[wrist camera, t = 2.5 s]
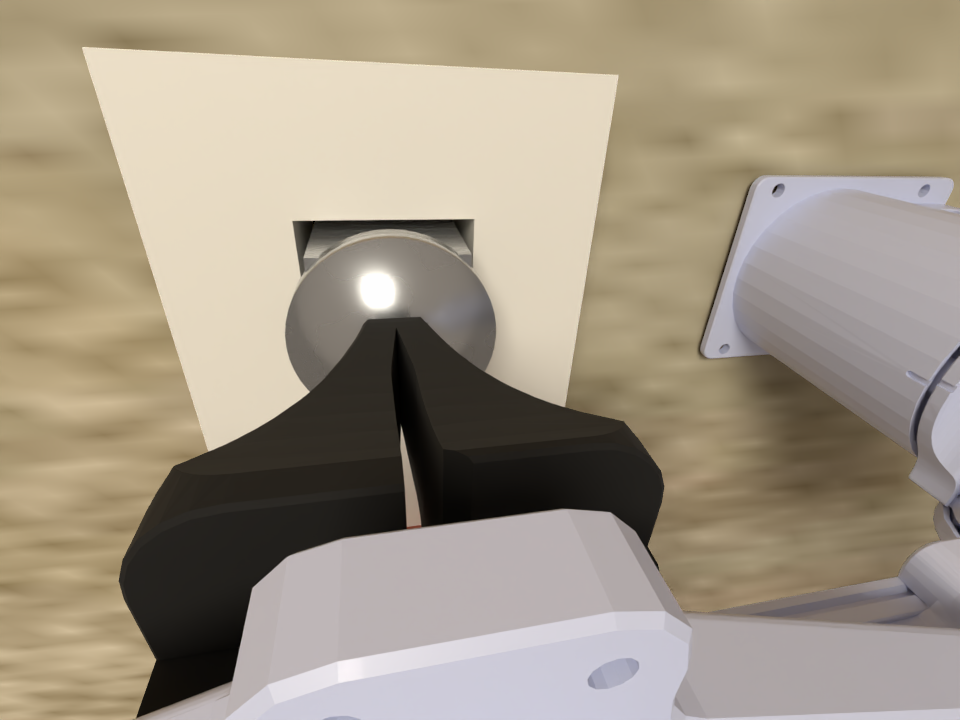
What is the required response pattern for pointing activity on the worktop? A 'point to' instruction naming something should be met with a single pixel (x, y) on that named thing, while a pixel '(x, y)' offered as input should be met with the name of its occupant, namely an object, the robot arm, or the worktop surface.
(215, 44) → the worktop surface
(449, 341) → the grey button
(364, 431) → the robot arm
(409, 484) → the control box
